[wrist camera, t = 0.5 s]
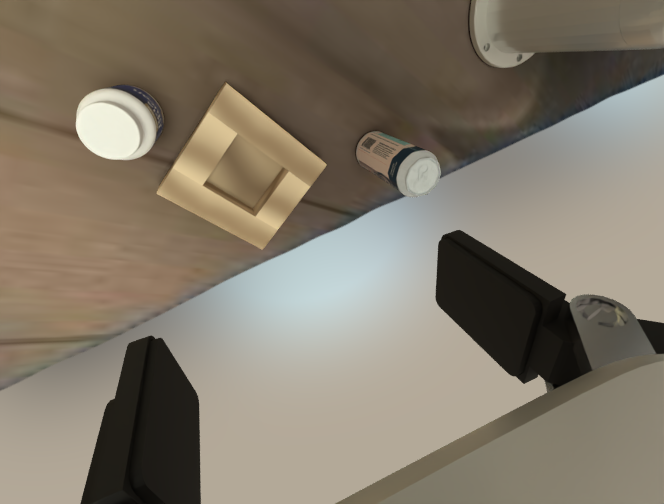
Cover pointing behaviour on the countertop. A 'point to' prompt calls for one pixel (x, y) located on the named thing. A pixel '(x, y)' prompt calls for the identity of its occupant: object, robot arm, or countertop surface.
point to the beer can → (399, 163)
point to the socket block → (241, 170)
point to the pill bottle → (119, 122)
